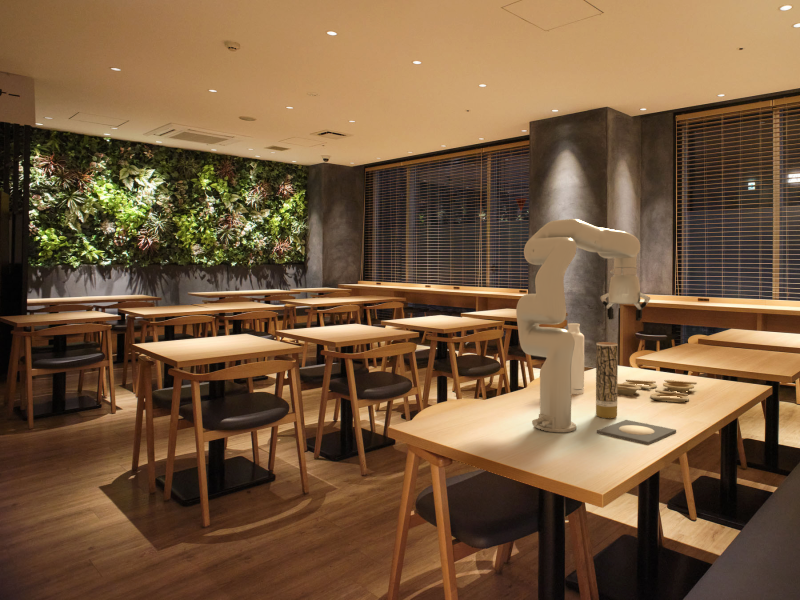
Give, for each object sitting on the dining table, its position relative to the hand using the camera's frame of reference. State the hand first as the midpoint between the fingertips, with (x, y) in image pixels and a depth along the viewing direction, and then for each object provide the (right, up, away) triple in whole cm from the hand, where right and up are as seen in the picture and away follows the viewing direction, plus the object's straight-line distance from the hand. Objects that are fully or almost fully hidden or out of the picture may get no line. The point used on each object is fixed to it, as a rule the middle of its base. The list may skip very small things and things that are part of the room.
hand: (624, 319), depth 204 cm
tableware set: (+21, -31, +24) cm, 45 cm away
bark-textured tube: (-11, -33, -13) cm, 37 cm away
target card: (-9, -33, -32) cm, 47 cm away
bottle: (-10, -31, +26) cm, 41 cm away
